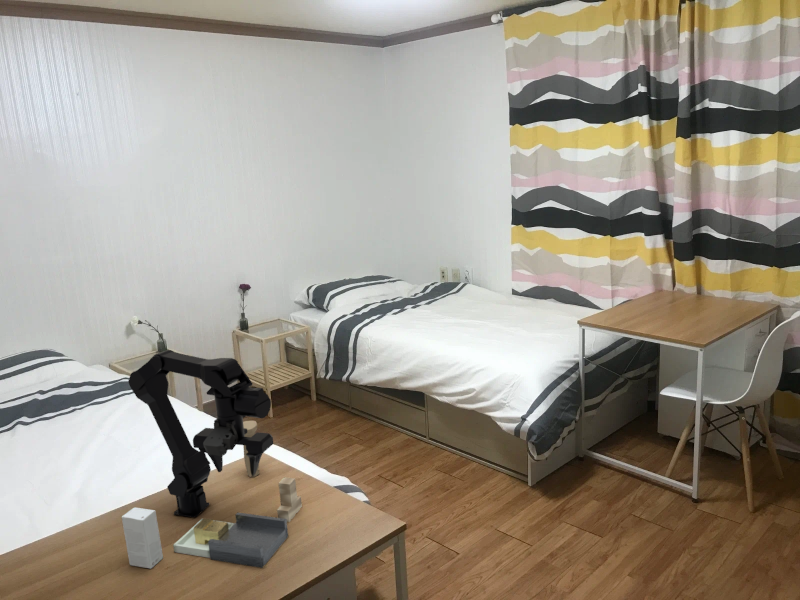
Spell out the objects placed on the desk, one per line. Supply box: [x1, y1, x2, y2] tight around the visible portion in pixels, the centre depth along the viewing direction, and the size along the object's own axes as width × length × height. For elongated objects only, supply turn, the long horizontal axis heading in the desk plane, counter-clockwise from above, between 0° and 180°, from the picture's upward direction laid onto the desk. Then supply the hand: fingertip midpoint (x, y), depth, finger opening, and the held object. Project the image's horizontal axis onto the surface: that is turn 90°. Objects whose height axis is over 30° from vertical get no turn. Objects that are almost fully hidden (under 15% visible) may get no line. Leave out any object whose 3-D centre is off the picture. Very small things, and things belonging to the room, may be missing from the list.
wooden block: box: [194, 518, 214, 545], centre depth 147 cm, size 4×4×2 cm
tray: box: [173, 518, 236, 559], centre depth 148 cm, size 10×11×2 cm
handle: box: [242, 420, 260, 478], centre depth 177 cm, size 5×6×15 cm
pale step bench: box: [276, 477, 303, 523], centre depth 156 cm, size 3×7×9 cm, turn 162°
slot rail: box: [208, 512, 289, 569], centre depth 144 cm, size 13×12×4 cm
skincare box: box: [121, 507, 164, 570], centre depth 140 cm, size 6×4×12 cm
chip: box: [203, 520, 229, 541], centre depth 146 cm, size 4×4×2 cm
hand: (236, 473), depth 152 cm, fingers open, 9 cm apart
